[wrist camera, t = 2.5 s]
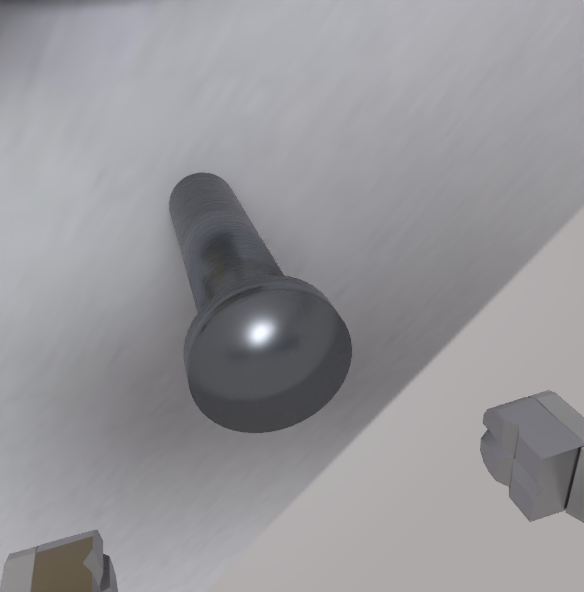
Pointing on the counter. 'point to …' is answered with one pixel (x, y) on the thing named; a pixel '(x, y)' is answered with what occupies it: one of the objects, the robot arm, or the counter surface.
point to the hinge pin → (251, 319)
